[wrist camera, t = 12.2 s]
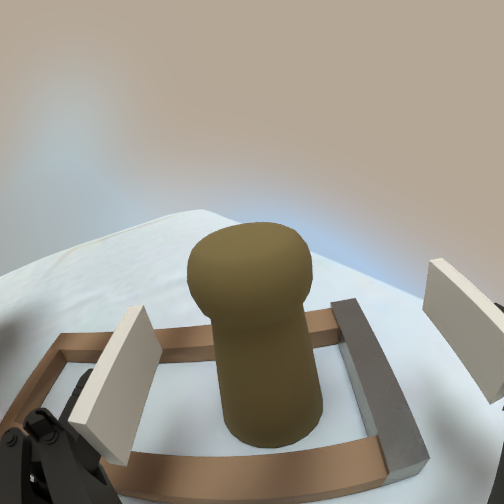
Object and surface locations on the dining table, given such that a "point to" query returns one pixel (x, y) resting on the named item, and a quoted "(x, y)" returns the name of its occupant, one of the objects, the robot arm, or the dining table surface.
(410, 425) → the end stop
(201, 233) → the dining table surface
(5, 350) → the dining table surface
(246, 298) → the cork
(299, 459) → the walnut channel
